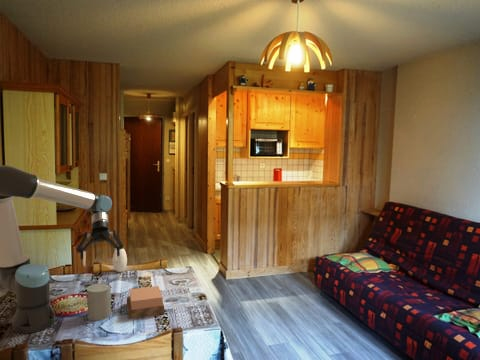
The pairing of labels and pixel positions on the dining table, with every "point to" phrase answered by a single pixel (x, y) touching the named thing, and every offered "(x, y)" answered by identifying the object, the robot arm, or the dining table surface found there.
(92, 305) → the grey cylinder
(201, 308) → the dining table surface
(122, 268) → the cream ovoid candle
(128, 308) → the tower base
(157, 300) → the brown square block
